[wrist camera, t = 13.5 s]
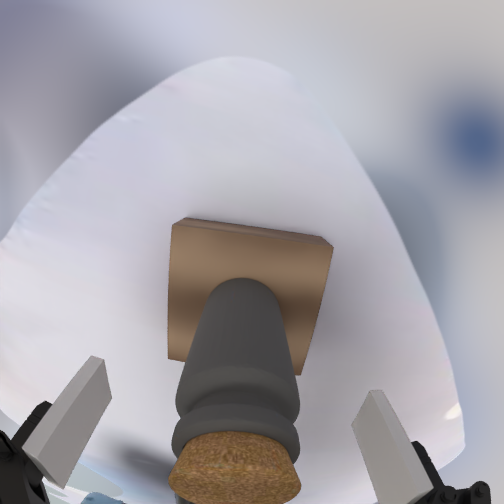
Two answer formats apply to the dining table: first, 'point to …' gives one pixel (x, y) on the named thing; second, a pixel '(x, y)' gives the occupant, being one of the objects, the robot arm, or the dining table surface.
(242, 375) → the bottle
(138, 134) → the dining table surface
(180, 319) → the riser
